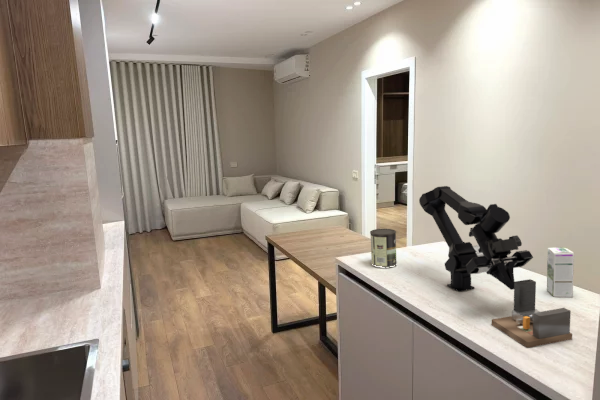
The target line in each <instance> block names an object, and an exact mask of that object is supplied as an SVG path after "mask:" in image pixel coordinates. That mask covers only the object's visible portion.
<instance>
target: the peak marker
mask: <svg viewBox="0 0 600 400" xmlns="http://www.w3.org/2000/svg"><path fill="white" fill-rule="evenodd" d="M523 328H524V329H530V317H528V316H525V317H523Z"/></svg>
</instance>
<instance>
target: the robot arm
mask: <svg viewBox="0 0 600 400" xmlns="http://www.w3.org/2000/svg"><path fill="white" fill-rule="evenodd" d="M419 205H420V206H421V208H422V209H423V211H424V212H425V213H427V214H428V215H430V216H432V218H433V220H434V221H435V224H436V226H437V228H438V230H439V232H440V233H441V235H442V237H443V239H444V241H445V242H446V244H447V246H448V259H447V260H446V261H445V262H444V267H445V270H446V271H448V272H449V273H450V283H447V284H446V287H448V288H450V289H452V290H454V291H456V292H458V293H459V292H465V291H466V292H467V291H469V290H474V289H475V286H473V285H472V275H474V274H475V273H478V271H479V269H478V268H482V267H487V268H488V271H487V272H486V274H487V275H490V276H491V277H493V278H495V279H496V280H497V281H499V282H500V283H502V284H503V285H504V286H506V288H508V289H510V290H512V291H513V290H514V282H515V276H514V275H515V274H514V269H515V268H522V267H525V265H527V264H528V263H529V262H530V261H531V260H532V259H533V258H534V257H533V254H532V252H531V251H530V250H527V249H525V250H524V249H523V250H519V247H521V246H522V244H523V243H522V241H521V238H520V237H519V236H518V235H512V236H509V237H508V238H506V239H502V238H499V237H498V236H497V235H496V233H499V232H500V231H501V230H502V229H503V227H505V225H506V224H507V223H508V222H509V221H510V219H511V217H510V214H509V212H508V211H507V210H506V209H504V208H502V207H500V206H498V205H497V203H494V204H492V203H491V204H489V205H488V207H487V208H486V207H485V206H484V205H481V204H480V203H477V202H472V201H468V200H467V199H465V198H464V197H463V196H461V195H460V194H459V193H457V192H456V191H454V190H452V188H451V187H450V186H448V185H444V186H442V185H441V186H436V187H434V189H431V190H429V191H427V192H425V193H422V194H421V196H420V197H419ZM446 205H447V206H448V207H449V208H451V209H452V210H454V212H456V213H457V218H458V220H460V221H461V223H462V224H463V225H465V226H471V225H474V226H473V227H470V229H469V232H468V237H470V238H471V237H474V239H475V241H476V243H477V245H479V247H480V248H479V249H478V251H479V253H483V255H484V256H479V257H478V256H477V254H476V250H475V249H474V248H473V246H474V245H473V244H472V243H471V242H470V241H467V242H465V241H463V239H462V237H461V236H460V233H459V232H458V230H457V229H456V227H455V225H454V223H453V221H452V219H451V217H450V216H449V214H448V212H447V211H446ZM514 250H516V251H515V252H514V253H513V254H512V255H511V253H512V251H514ZM509 255H511V256H509ZM475 275H476V274H475Z"/></svg>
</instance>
